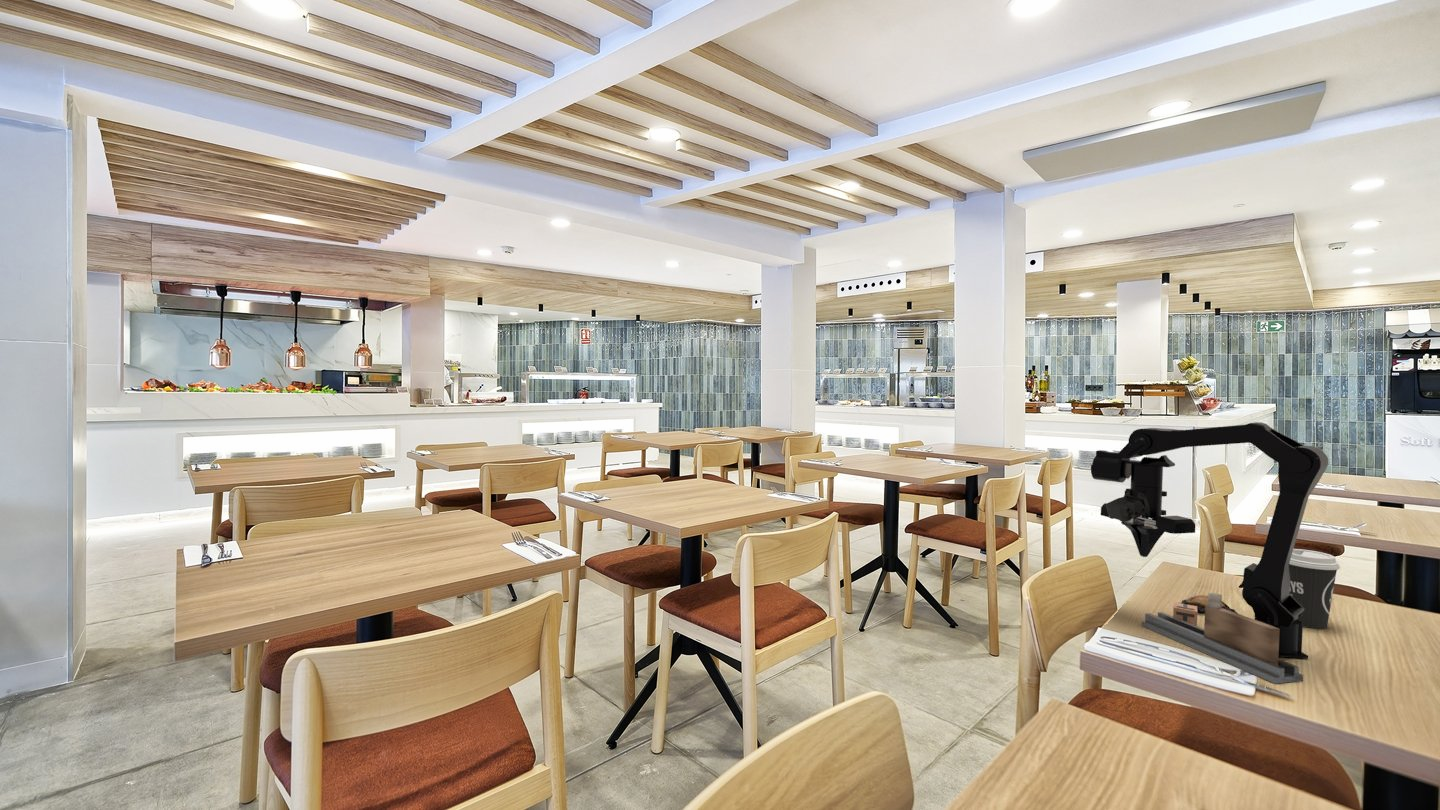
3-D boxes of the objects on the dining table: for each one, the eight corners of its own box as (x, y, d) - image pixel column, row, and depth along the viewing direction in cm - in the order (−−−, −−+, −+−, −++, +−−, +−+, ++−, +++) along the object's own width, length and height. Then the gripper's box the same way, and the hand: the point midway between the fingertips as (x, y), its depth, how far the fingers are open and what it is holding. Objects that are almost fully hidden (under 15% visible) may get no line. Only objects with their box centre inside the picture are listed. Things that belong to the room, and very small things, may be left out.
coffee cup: (1294, 612, 139) (1296, 546, 139) (1348, 628, 130) (1351, 557, 130) (1265, 617, 136) (1268, 549, 136) (1319, 634, 127) (1322, 561, 127)
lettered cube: (1172, 620, 134) (1173, 601, 134) (1196, 624, 132) (1197, 605, 132) (1172, 626, 131) (1173, 607, 131) (1196, 631, 129) (1197, 611, 129)
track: (1141, 625, 131) (1141, 613, 131) (1165, 623, 132) (1165, 611, 132) (1275, 683, 106) (1275, 669, 106) (1302, 680, 107) (1303, 666, 107)
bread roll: (1190, 617, 138) (1191, 601, 137) (1173, 604, 146) (1173, 589, 146) (1247, 622, 135) (1248, 605, 135) (1226, 608, 143) (1227, 593, 143)
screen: (1203, 641, 120) (1204, 592, 120) (1211, 640, 120) (1213, 592, 120) (1269, 669, 108) (1271, 615, 108) (1278, 668, 109) (1281, 614, 108)
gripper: (1081, 479, 143) (1079, 547, 144) (1153, 494, 125) (1150, 571, 126) (1122, 478, 146) (1119, 545, 146) (1198, 492, 127) (1196, 568, 128)
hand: (1143, 556), depth 137 cm, fingers closed
